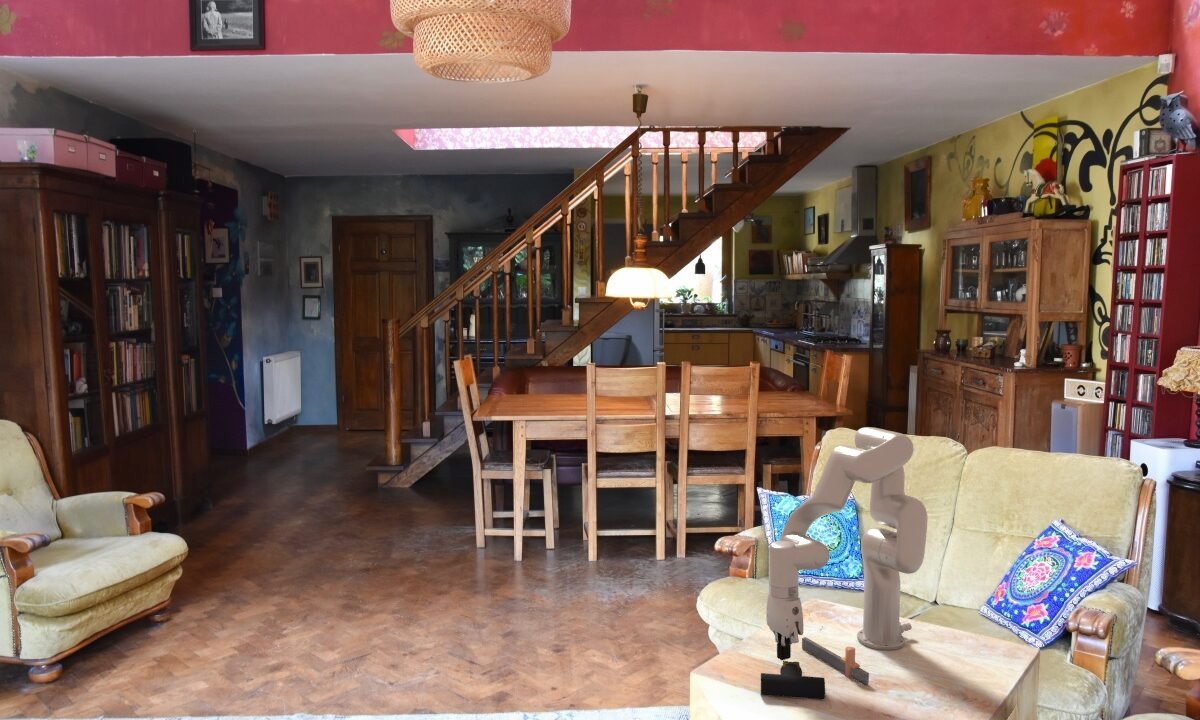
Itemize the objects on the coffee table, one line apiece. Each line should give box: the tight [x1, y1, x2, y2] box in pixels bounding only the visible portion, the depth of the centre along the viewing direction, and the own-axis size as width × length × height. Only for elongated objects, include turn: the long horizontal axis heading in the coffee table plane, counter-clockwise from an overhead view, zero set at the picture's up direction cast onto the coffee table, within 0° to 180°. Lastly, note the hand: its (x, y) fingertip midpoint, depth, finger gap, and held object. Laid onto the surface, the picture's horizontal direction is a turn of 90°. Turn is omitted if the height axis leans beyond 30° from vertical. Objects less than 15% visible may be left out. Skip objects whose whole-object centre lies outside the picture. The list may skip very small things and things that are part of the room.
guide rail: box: [801, 636, 870, 686], centre depth 221 cm, size 2×24×7 cm, turn 26°
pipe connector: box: [760, 660, 826, 701], centre depth 209 cm, size 12×5×15 cm
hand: (783, 658), depth 222 cm, fingers closed
